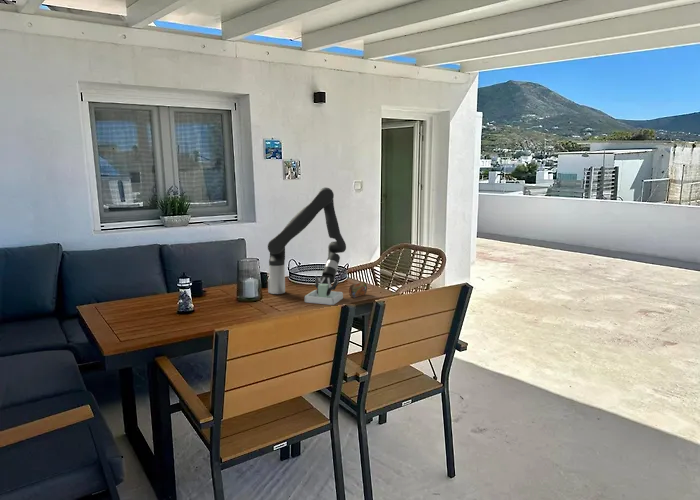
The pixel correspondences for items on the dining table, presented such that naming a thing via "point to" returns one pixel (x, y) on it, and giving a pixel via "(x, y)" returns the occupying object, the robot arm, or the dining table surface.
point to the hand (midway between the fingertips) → (322, 294)
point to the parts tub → (332, 300)
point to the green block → (323, 290)
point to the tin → (357, 289)
